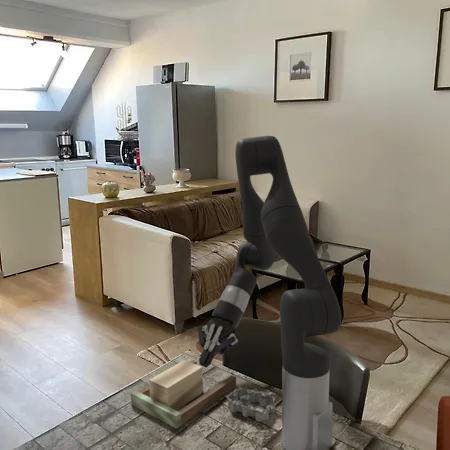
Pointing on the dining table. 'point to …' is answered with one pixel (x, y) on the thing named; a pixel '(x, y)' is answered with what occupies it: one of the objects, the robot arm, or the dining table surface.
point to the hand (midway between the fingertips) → (202, 365)
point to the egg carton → (252, 396)
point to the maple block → (177, 385)
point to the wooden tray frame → (180, 417)
